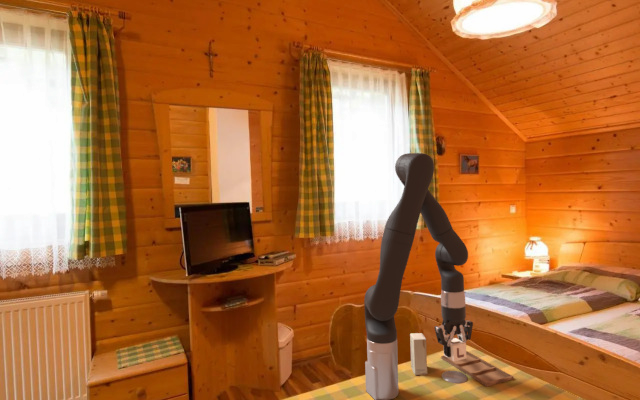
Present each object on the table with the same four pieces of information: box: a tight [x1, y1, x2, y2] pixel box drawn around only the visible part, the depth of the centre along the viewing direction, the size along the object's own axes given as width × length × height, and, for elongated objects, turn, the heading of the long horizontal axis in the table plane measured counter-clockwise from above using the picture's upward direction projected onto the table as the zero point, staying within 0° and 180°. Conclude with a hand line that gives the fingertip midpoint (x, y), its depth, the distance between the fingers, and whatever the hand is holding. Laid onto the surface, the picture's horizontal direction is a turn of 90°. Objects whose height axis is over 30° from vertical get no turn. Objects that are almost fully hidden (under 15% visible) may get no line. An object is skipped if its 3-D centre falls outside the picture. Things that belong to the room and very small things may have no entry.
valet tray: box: [440, 350, 515, 387], centre depth 135 cm, size 11×22×1 cm, turn 21°
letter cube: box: [442, 337, 467, 361], centre depth 129 cm, size 5×5×5 cm
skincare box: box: [409, 332, 428, 376], centre depth 135 cm, size 6×4×12 cm
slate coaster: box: [441, 370, 468, 384], centre depth 130 cm, size 8×8×1 cm
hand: (454, 354), depth 129 cm, fingers closed on letter cube, 5 cm apart
